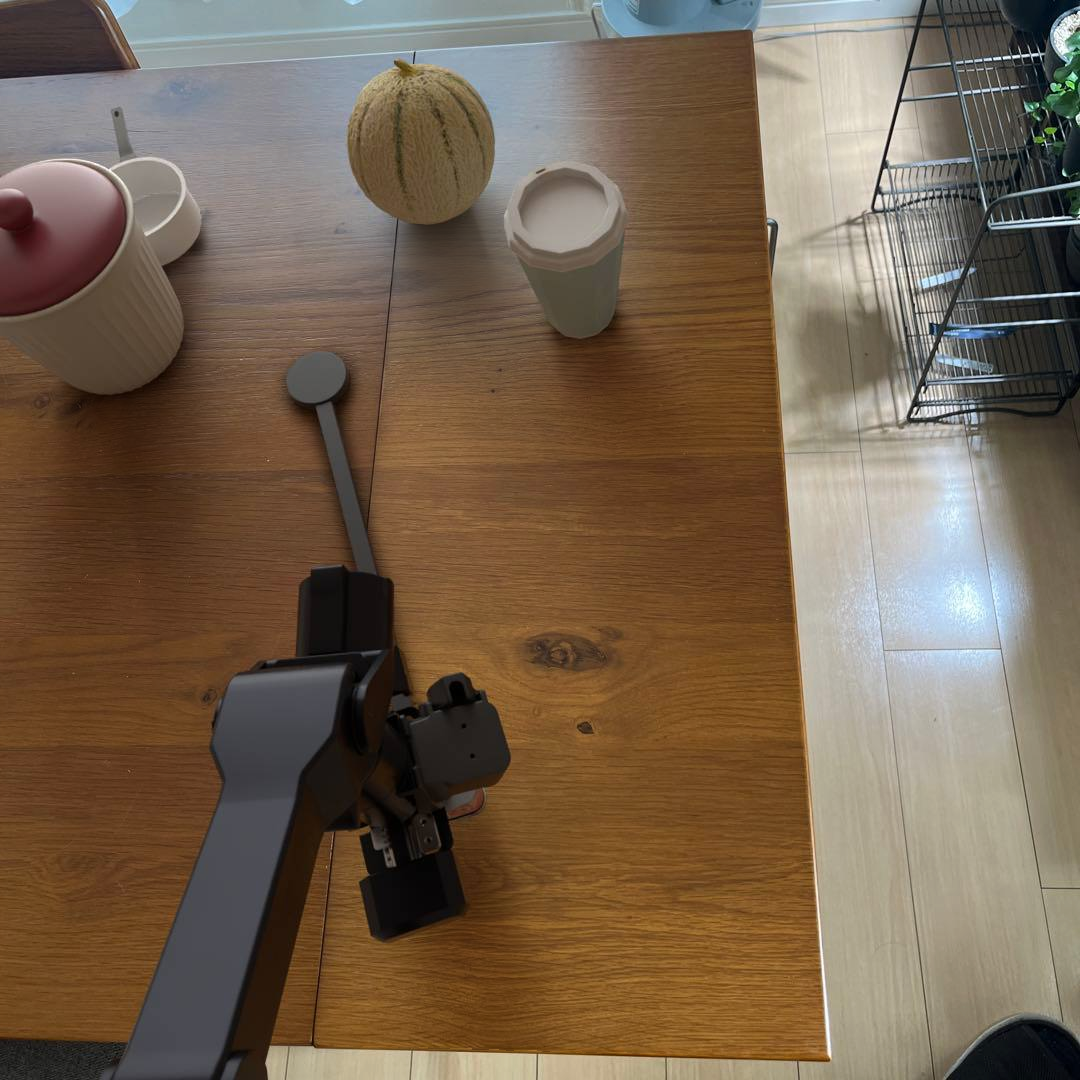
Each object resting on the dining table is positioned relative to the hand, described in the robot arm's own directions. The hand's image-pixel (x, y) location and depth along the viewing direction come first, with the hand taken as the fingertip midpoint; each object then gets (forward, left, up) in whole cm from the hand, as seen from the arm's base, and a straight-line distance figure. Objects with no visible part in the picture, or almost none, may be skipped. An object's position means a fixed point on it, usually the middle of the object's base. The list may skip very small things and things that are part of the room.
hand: (417, 805), depth 71 cm
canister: (+55, +18, -5) cm, 58 cm away
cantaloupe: (+61, -17, -5) cm, 64 cm away
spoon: (+26, 0, -5) cm, 27 cm away
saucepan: (+73, +13, -5) cm, 74 cm away
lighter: (+1, -1, -3) cm, 4 cm away
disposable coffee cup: (+41, -26, -5) cm, 49 cm away
